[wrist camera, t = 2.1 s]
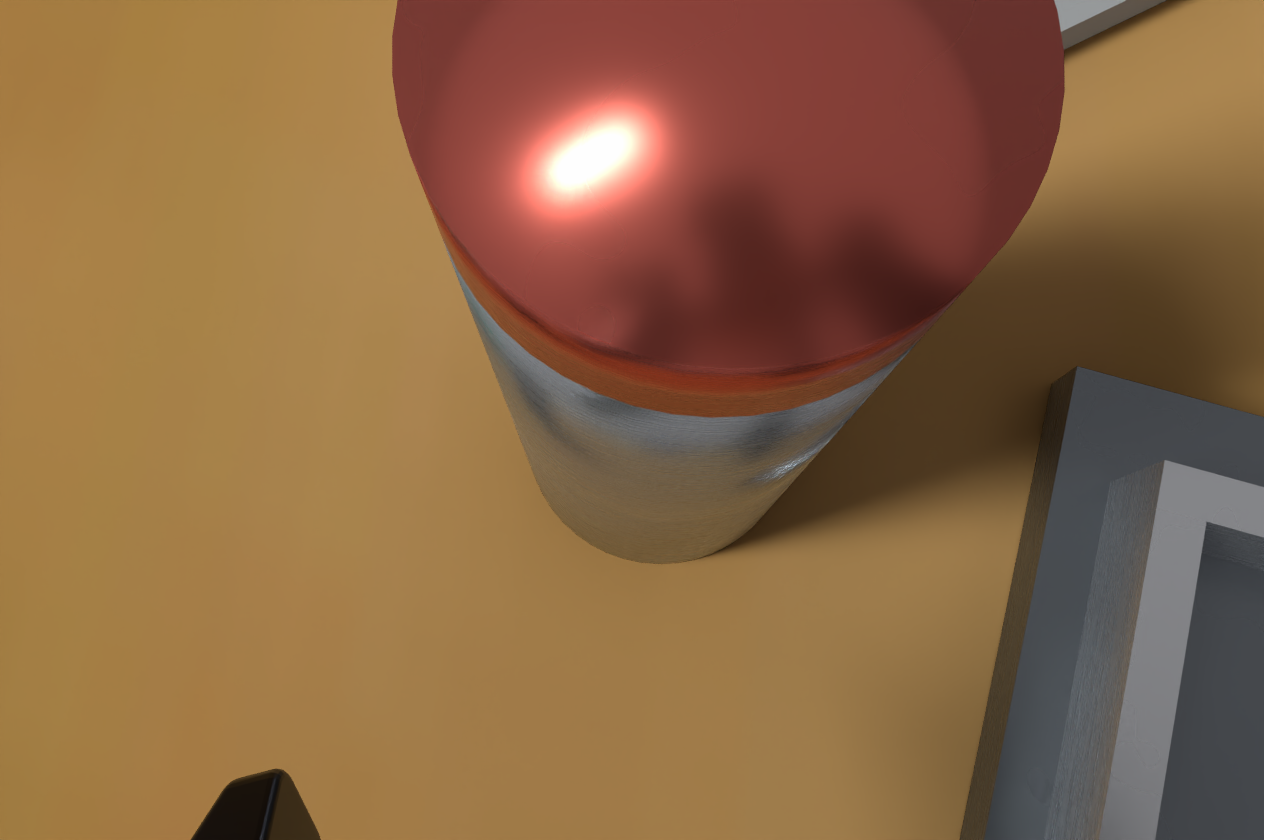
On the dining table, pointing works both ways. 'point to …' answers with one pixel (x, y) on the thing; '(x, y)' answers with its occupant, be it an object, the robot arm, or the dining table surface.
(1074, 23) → the adjustable wrench
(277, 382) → the dining table surface
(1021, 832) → the fitting board
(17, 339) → the dining table surface
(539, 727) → the dining table surface
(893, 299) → the silver and red cylinder
